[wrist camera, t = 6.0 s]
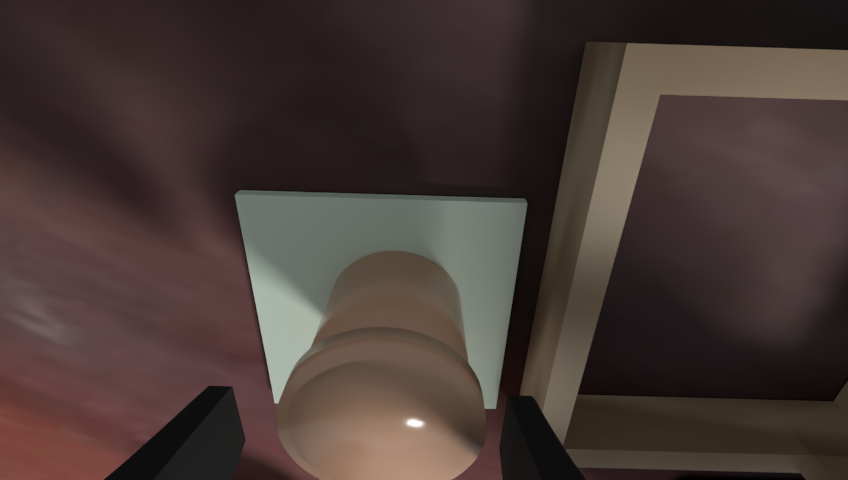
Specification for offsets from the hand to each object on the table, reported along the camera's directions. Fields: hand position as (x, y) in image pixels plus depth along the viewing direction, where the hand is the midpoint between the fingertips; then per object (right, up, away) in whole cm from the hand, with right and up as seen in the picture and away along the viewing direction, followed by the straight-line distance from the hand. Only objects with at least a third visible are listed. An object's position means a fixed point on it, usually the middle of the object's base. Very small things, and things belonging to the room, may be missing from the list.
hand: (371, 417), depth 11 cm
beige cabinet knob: (0, +2, +4) cm, 4 cm away
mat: (0, +2, +4) cm, 5 cm away
